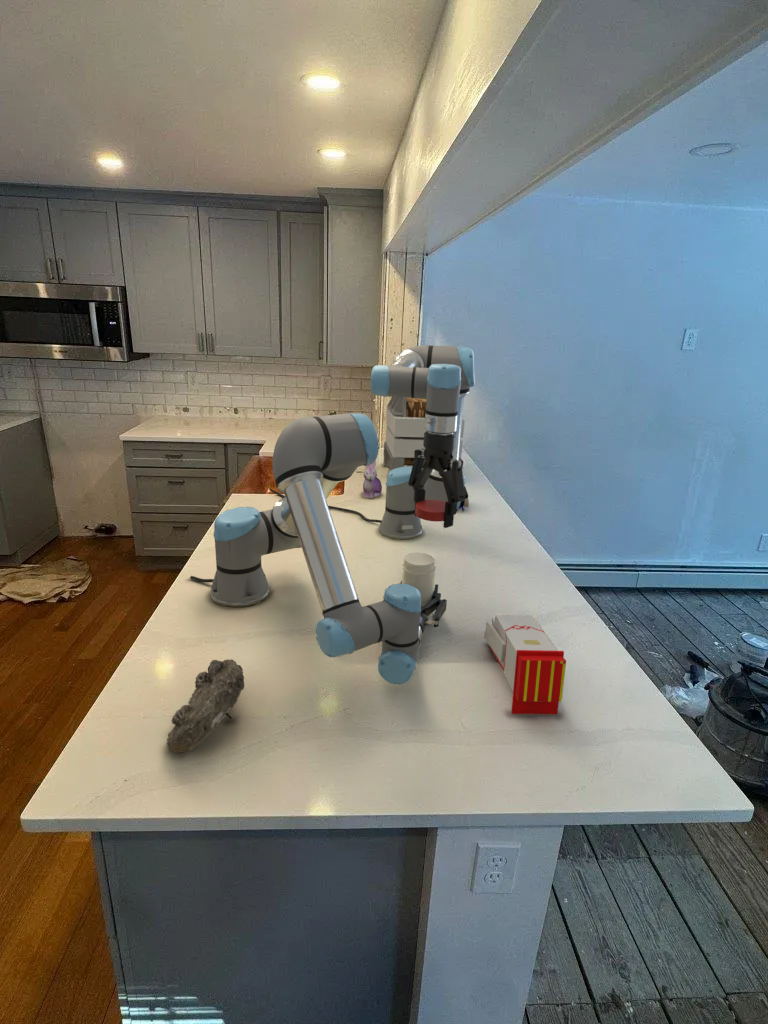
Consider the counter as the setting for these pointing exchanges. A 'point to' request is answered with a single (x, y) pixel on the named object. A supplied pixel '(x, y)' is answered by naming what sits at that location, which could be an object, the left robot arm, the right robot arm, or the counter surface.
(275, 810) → the counter surface
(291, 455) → the left robot arm
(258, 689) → the counter surface
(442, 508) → the lid
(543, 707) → the toy
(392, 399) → the grey slatted crate
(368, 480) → the figurine
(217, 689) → the fossil
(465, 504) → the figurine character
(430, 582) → the jar
